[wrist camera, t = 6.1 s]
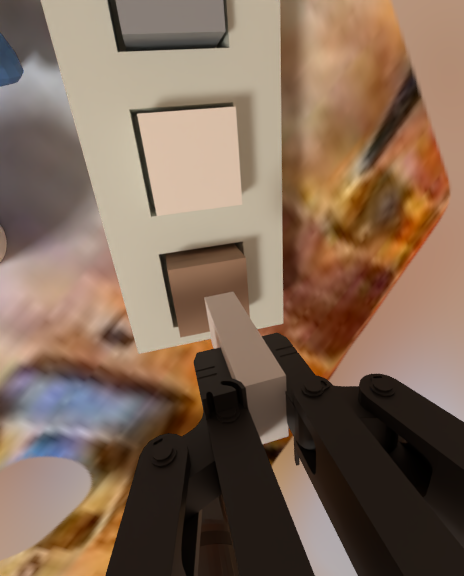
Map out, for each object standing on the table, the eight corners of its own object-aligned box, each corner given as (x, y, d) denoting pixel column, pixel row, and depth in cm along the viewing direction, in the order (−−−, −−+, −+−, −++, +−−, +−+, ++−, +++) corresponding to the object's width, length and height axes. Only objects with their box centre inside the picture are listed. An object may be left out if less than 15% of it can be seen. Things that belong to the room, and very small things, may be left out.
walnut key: (238, 302, 29) (250, 323, 26) (176, 313, 28) (180, 337, 25) (233, 242, 27) (245, 257, 23) (165, 253, 25) (167, 270, 22)
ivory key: (229, 196, 25) (242, 204, 21) (156, 205, 24) (156, 215, 20) (222, 113, 22) (235, 106, 19) (139, 119, 21) (136, 113, 18)
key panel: (266, 300, 34) (283, 323, 30) (140, 325, 32) (138, 353, 27) (251, -98, 20) (278, -165, 16) (28, -109, 18) (-13, -192, 14)
